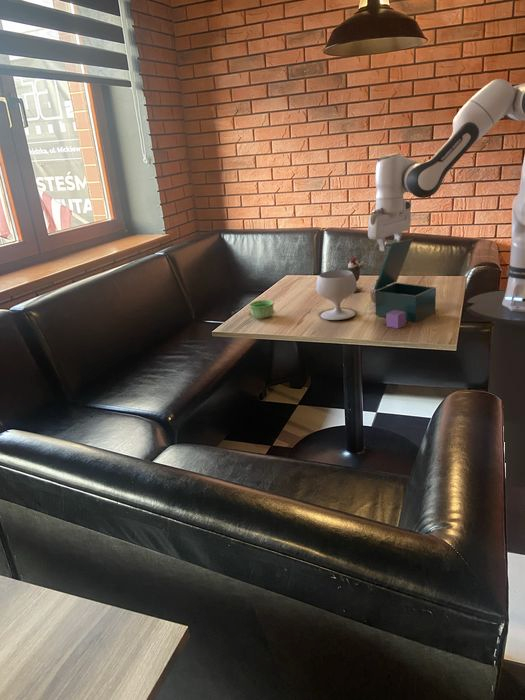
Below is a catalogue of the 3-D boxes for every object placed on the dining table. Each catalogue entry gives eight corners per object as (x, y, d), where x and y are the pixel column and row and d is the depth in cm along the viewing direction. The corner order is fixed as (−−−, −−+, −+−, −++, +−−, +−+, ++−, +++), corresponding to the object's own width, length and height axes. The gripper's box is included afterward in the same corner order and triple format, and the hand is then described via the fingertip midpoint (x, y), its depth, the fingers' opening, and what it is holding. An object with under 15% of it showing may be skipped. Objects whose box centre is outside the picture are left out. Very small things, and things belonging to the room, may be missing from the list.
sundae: (350, 293, 215) (348, 256, 209) (344, 290, 221) (342, 254, 215) (365, 290, 216) (364, 253, 211) (358, 287, 222) (357, 251, 217)
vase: (388, 305, 195) (387, 282, 192) (369, 305, 197) (368, 282, 194) (390, 300, 201) (390, 277, 198) (372, 300, 203) (371, 277, 200)
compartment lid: (412, 239, 180) (401, 233, 183) (391, 246, 172) (380, 239, 175) (396, 281, 190) (385, 275, 192) (376, 290, 182) (365, 283, 184)
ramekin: (278, 311, 200) (277, 299, 199) (269, 318, 193) (268, 307, 191) (256, 310, 204) (255, 299, 202) (246, 318, 196) (245, 306, 195)
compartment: (435, 312, 183) (436, 287, 180) (415, 322, 175) (416, 296, 172) (395, 306, 193) (395, 282, 190) (375, 315, 186) (375, 290, 182)
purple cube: (405, 324, 174) (405, 311, 172) (398, 328, 171) (398, 315, 169) (393, 322, 177) (393, 309, 175) (386, 326, 174) (386, 313, 172)
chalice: (326, 309, 198) (324, 269, 193) (363, 310, 191) (361, 269, 186) (312, 320, 187) (308, 278, 181) (350, 322, 180) (348, 279, 175)
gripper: (379, 211, 167) (379, 255, 172) (414, 202, 180) (413, 243, 185) (362, 210, 171) (363, 253, 176) (398, 202, 184) (397, 242, 189)
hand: (389, 248), depth 180 cm, fingers open, 6 cm apart
